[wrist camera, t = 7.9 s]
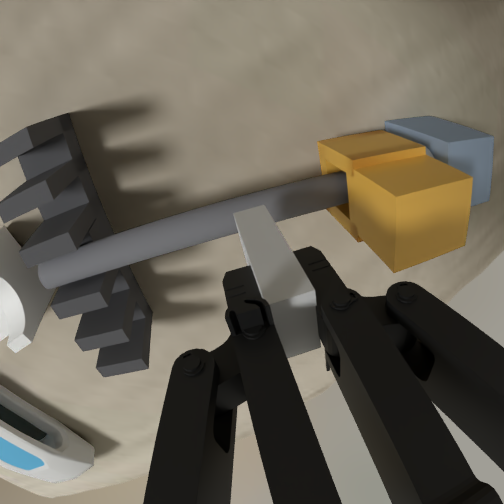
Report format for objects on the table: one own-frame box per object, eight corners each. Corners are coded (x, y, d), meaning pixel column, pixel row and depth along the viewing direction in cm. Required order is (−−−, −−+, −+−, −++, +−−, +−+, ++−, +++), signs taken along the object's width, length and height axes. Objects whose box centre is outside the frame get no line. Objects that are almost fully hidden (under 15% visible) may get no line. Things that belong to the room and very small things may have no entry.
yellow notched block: (326, 209, 22) (393, 281, 15) (317, 141, 20) (396, 186, 12) (385, 193, 22) (463, 253, 15) (381, 129, 20) (473, 167, 12)
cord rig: (113, 322, 27) (102, 387, 20) (24, 135, 17) (-33, 163, 11) (428, 230, 28) (476, 270, 22) (421, 43, 19) (488, 45, 12)
